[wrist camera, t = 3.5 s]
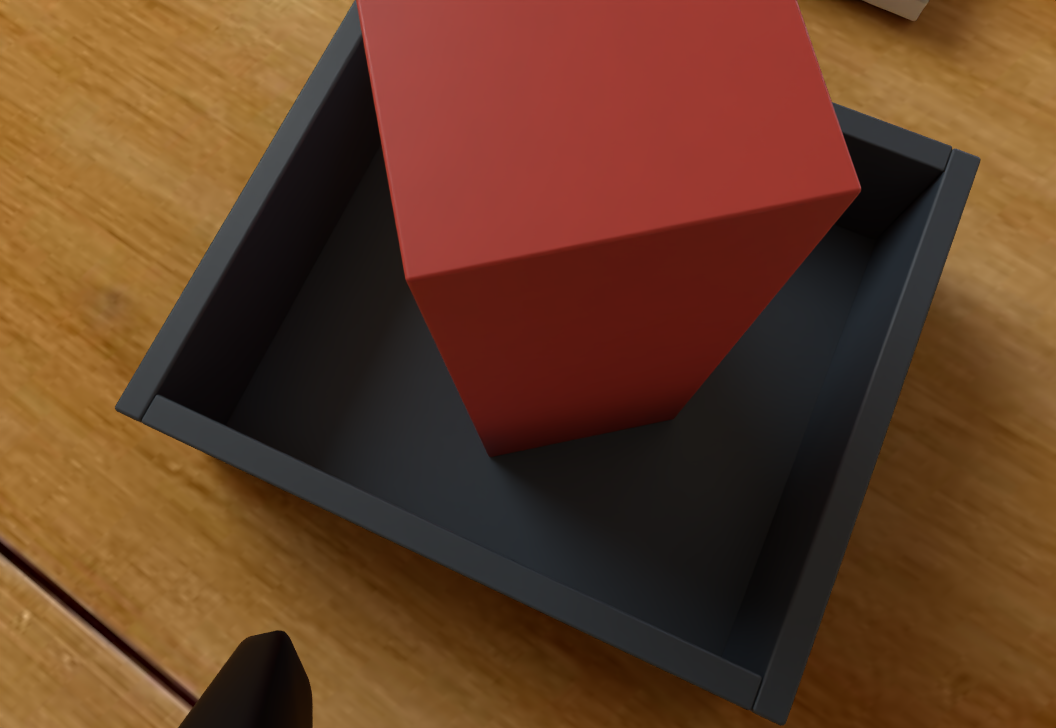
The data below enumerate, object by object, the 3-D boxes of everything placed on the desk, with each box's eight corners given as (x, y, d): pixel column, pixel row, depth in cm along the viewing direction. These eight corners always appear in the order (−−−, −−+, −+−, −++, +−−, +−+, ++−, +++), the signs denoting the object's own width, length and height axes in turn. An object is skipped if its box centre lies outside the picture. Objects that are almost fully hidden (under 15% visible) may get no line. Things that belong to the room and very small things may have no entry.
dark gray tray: (898, 237, 23) (982, 156, 19) (732, 694, 20) (785, 728, 16) (417, 51, 25) (390, -63, 20) (199, 442, 22) (111, 409, 17)
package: (674, 418, 21) (864, 190, 9) (488, 458, 21) (405, 282, 8) (622, 214, 23) (718, -234, 10) (448, 249, 23) (326, -163, 10)
